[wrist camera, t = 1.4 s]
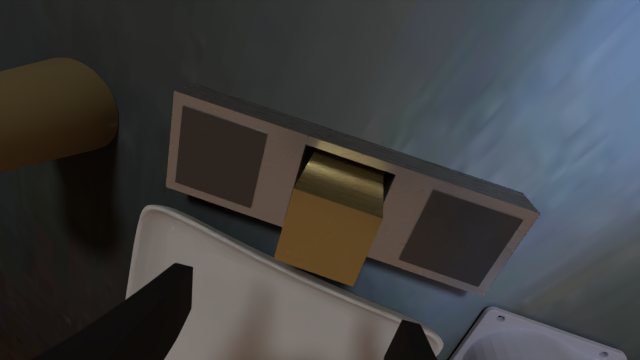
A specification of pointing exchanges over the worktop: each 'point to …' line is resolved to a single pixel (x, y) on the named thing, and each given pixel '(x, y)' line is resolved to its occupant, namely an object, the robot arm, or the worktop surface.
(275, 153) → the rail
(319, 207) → the yellow rectangular block
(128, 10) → the worktop surface
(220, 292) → the salad plate
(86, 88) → the cork
